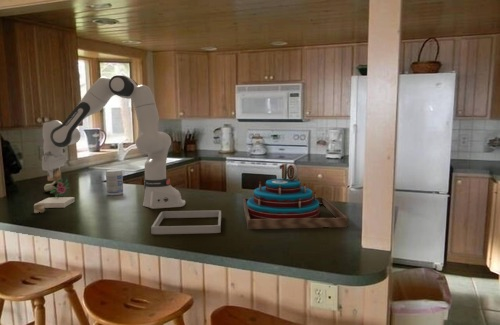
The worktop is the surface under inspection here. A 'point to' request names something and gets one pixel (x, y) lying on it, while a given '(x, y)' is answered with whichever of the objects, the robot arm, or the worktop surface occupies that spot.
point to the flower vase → (56, 187)
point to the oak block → (55, 175)
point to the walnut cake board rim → (298, 219)
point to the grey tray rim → (186, 229)
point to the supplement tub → (114, 182)
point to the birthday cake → (283, 198)
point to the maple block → (39, 207)
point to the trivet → (57, 202)
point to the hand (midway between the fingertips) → (54, 176)
